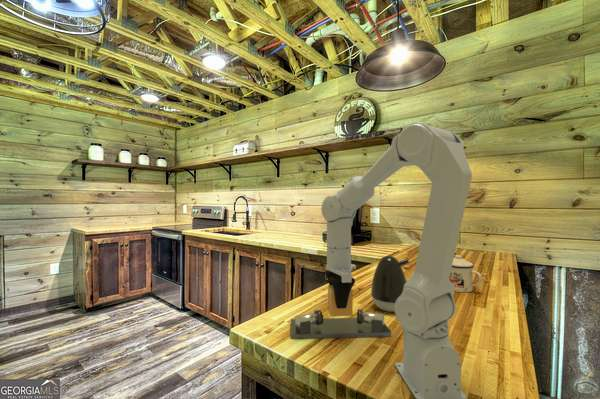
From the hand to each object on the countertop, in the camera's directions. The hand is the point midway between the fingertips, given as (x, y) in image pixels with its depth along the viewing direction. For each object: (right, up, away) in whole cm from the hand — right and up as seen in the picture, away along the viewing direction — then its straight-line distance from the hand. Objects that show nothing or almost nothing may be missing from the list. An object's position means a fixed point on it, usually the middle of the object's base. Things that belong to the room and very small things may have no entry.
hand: (339, 304), depth 66 cm
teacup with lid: (+47, -7, +30) cm, 56 cm away
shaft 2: (+7, -5, -1) cm, 9 cm away
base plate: (0, -7, +1) cm, 7 cm away
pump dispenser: (+17, -7, +14) cm, 22 cm away
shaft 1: (-7, -7, -1) cm, 10 cm away
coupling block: (0, -2, 0) cm, 2 cm away
